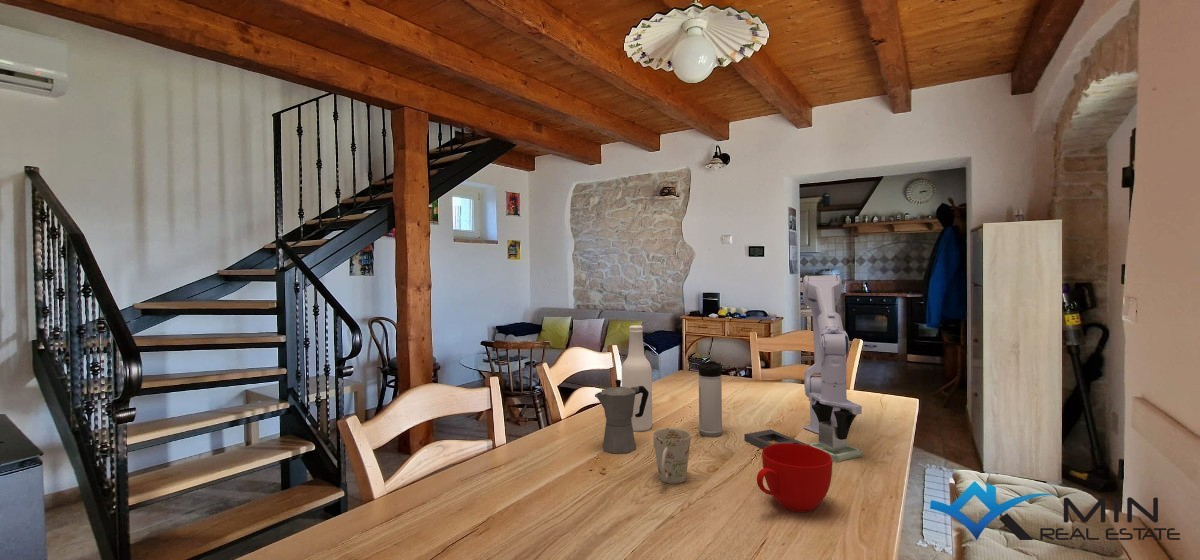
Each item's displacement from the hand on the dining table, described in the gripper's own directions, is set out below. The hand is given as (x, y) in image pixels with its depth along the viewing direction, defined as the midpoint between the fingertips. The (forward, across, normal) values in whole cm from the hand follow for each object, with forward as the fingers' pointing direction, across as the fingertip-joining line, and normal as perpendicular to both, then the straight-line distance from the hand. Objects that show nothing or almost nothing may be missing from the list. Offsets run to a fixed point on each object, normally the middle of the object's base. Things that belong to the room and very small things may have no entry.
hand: (834, 435), depth 128 cm
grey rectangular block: (+3, 0, 0) cm, 3 cm away
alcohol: (+5, -40, -34) cm, 53 cm away
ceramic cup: (+5, +17, -30) cm, 35 cm away
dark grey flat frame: (+4, -7, -10) cm, 13 cm away
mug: (+5, -3, -46) cm, 46 cm away
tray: (+4, 0, 0) cm, 4 cm away
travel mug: (+5, -26, -18) cm, 32 cm away
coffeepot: (+5, -27, -46) cm, 53 cm away
